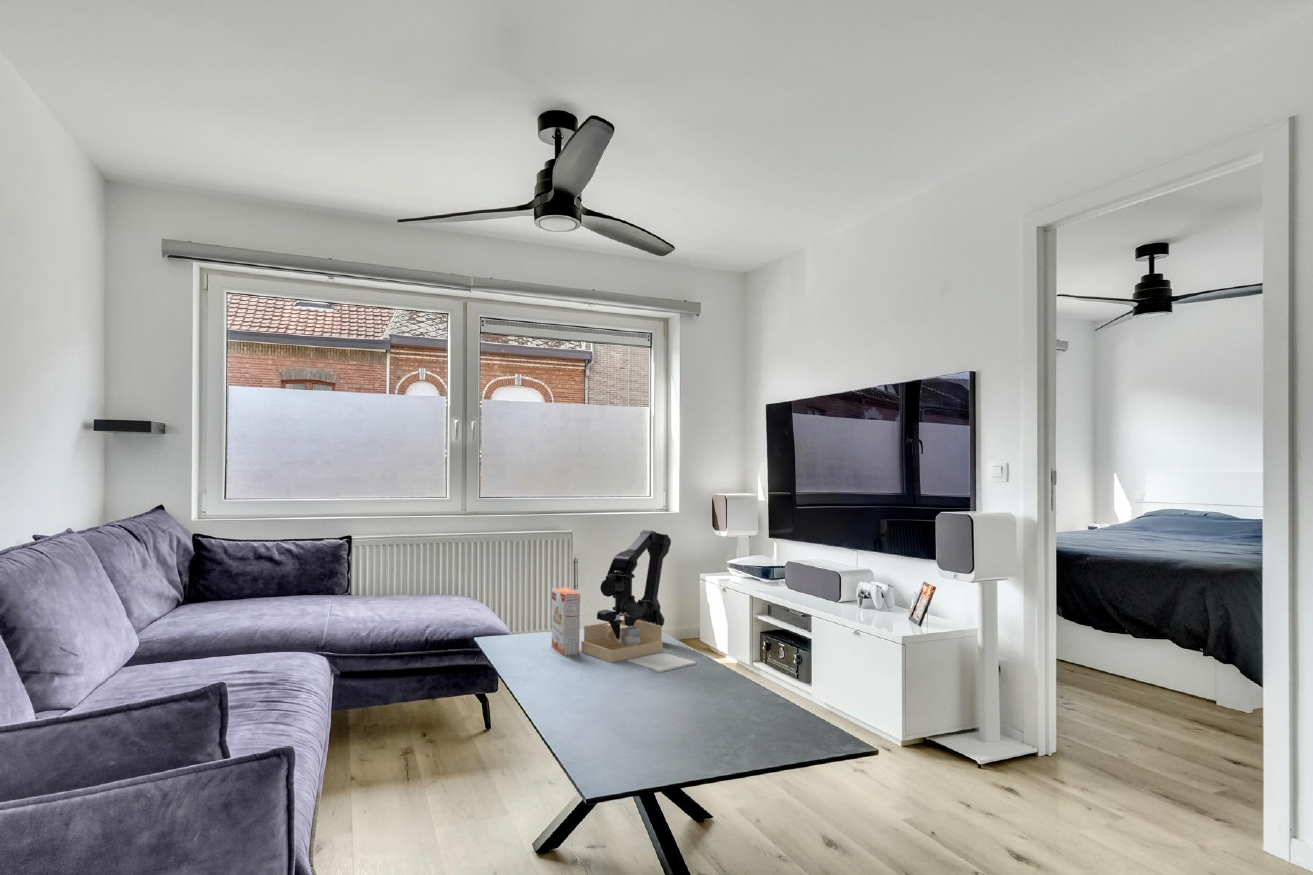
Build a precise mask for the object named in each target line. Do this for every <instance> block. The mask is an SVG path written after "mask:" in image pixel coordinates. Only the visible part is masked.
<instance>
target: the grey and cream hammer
mask: <svg viewBox="0 0 1313 875" xmlns="http://www.w3.org/2000/svg"><path fill="white" fill-rule="evenodd" d="M606 639H608V640H612V641H615V642H618V643H621V644H623V645H627V646H632V645H637V644H640V628H639V627H635V626H625V625H622V624H620V638H619V639H616V636H615V634H614V632H613V629H612V627H611V625H610V624H606Z"/></svg>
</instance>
